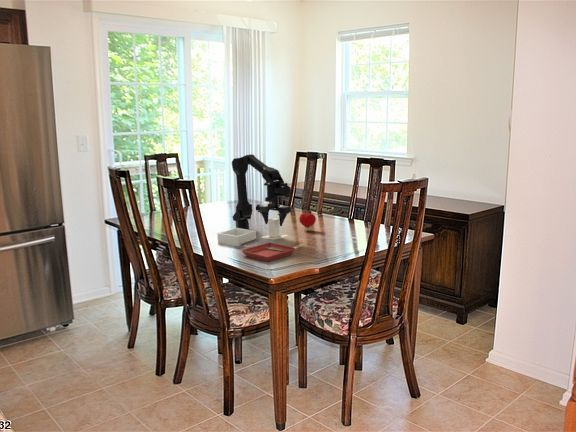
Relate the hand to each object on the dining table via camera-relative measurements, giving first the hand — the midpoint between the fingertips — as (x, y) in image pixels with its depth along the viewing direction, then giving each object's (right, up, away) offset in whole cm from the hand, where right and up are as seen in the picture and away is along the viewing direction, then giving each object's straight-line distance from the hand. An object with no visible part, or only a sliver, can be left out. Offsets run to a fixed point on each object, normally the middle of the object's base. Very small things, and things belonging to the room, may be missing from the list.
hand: (273, 225), depth 286 cm
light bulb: (+18, -4, +13) cm, 22 cm away
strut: (0, -6, +1) cm, 6 cm away
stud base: (0, -7, +1) cm, 7 cm away
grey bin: (-18, -8, -3) cm, 20 cm away
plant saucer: (-2, -14, -29) cm, 32 cm away
